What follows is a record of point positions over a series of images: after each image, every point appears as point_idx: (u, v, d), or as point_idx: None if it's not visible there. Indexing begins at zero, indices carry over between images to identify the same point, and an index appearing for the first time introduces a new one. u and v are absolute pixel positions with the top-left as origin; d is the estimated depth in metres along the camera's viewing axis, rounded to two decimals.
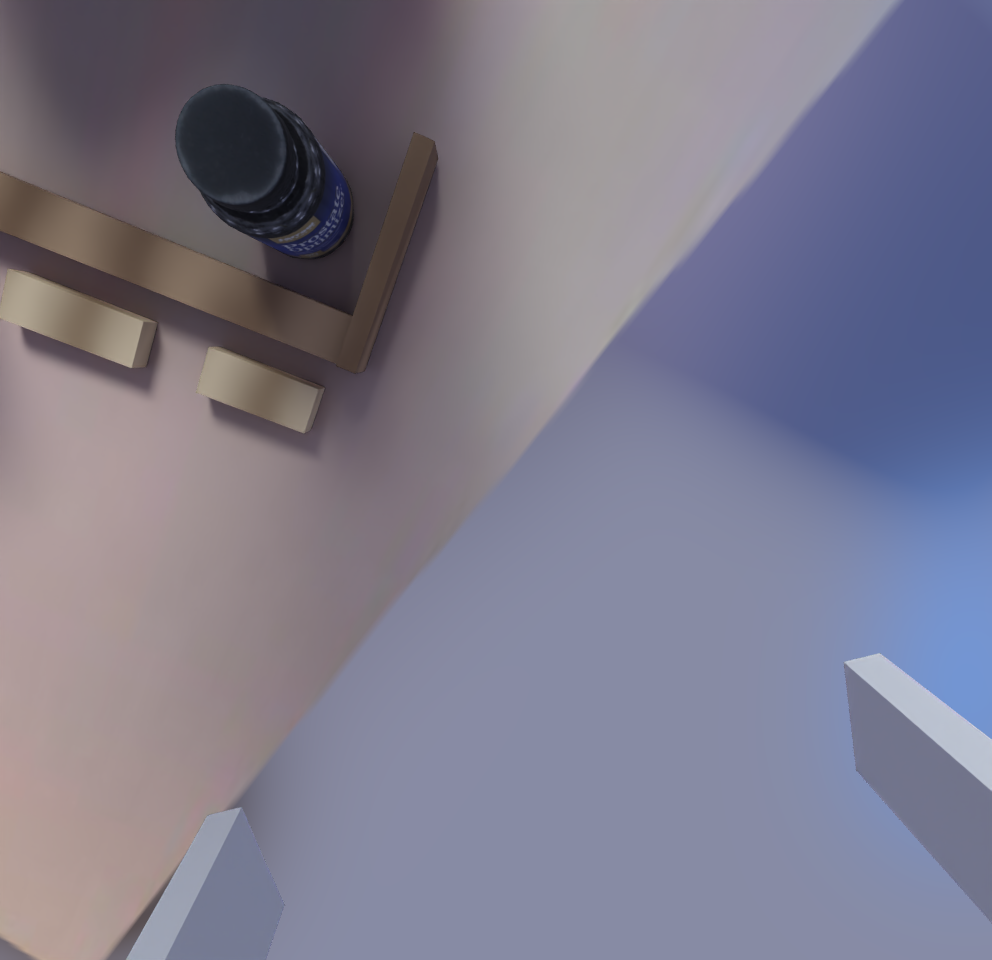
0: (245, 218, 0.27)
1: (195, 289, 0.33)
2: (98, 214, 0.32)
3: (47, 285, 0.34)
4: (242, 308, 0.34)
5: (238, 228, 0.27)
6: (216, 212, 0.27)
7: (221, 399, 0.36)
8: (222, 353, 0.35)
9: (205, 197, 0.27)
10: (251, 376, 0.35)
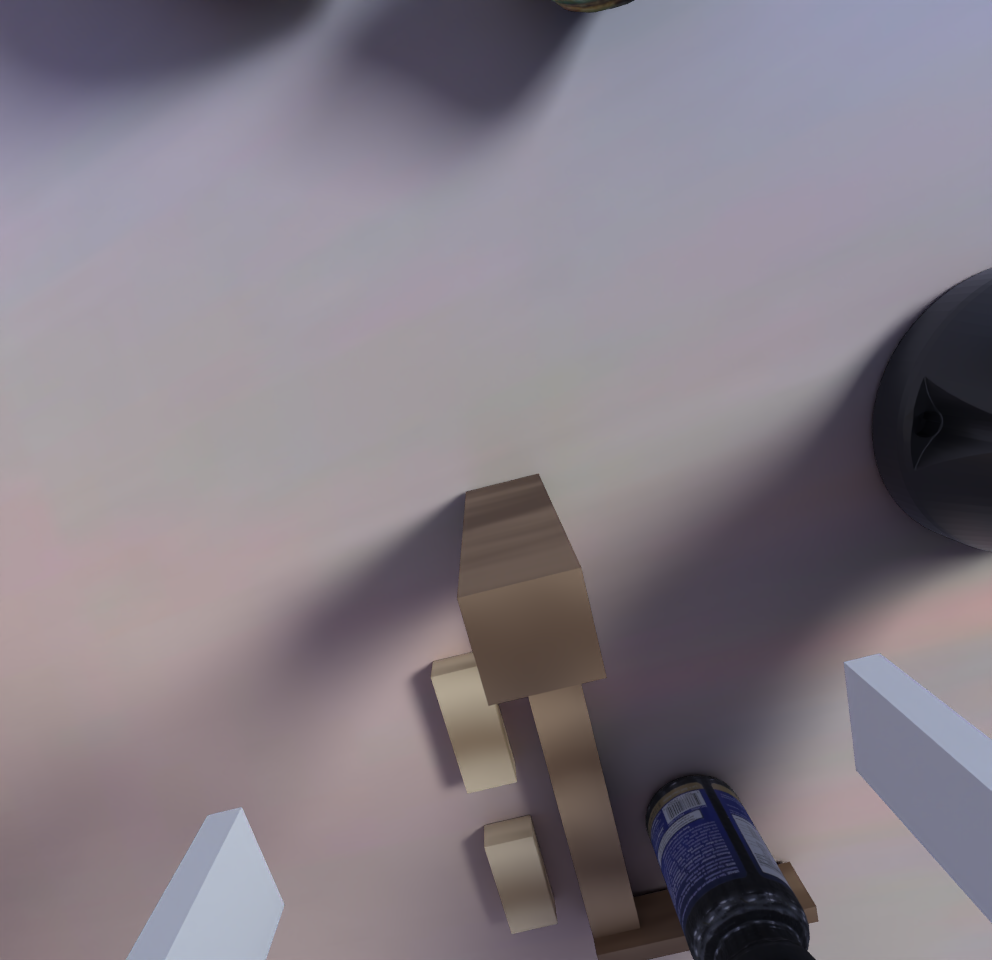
0: None
1: (578, 817, 0.33)
2: (589, 721, 0.32)
3: None
4: (588, 855, 0.34)
5: (693, 953, 0.28)
6: (696, 937, 0.28)
7: (493, 867, 0.35)
8: (534, 848, 0.34)
9: (703, 929, 0.28)
10: (531, 876, 0.35)
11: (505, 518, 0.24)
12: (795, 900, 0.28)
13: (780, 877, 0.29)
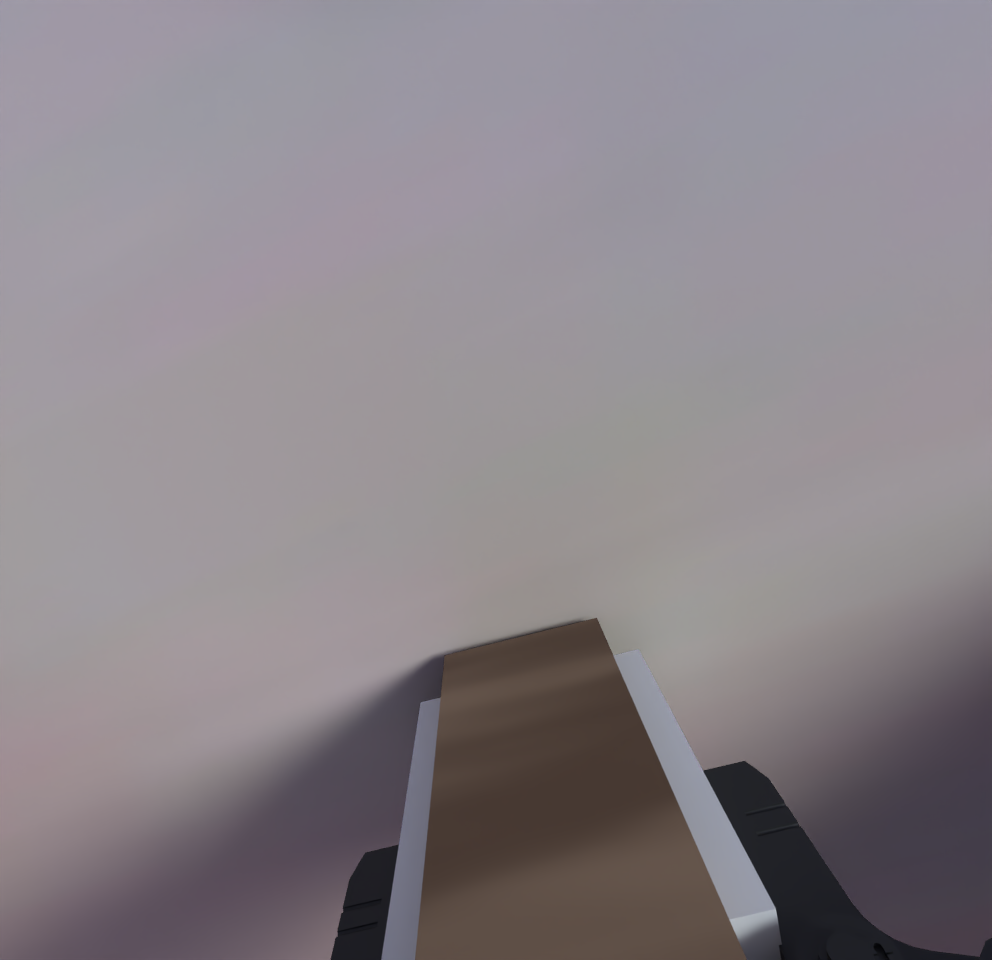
0: None
1: None
2: None
3: None
4: None
5: None
6: None
7: None
8: None
9: None
10: None
11: (545, 854, 0.08)
12: None
13: None
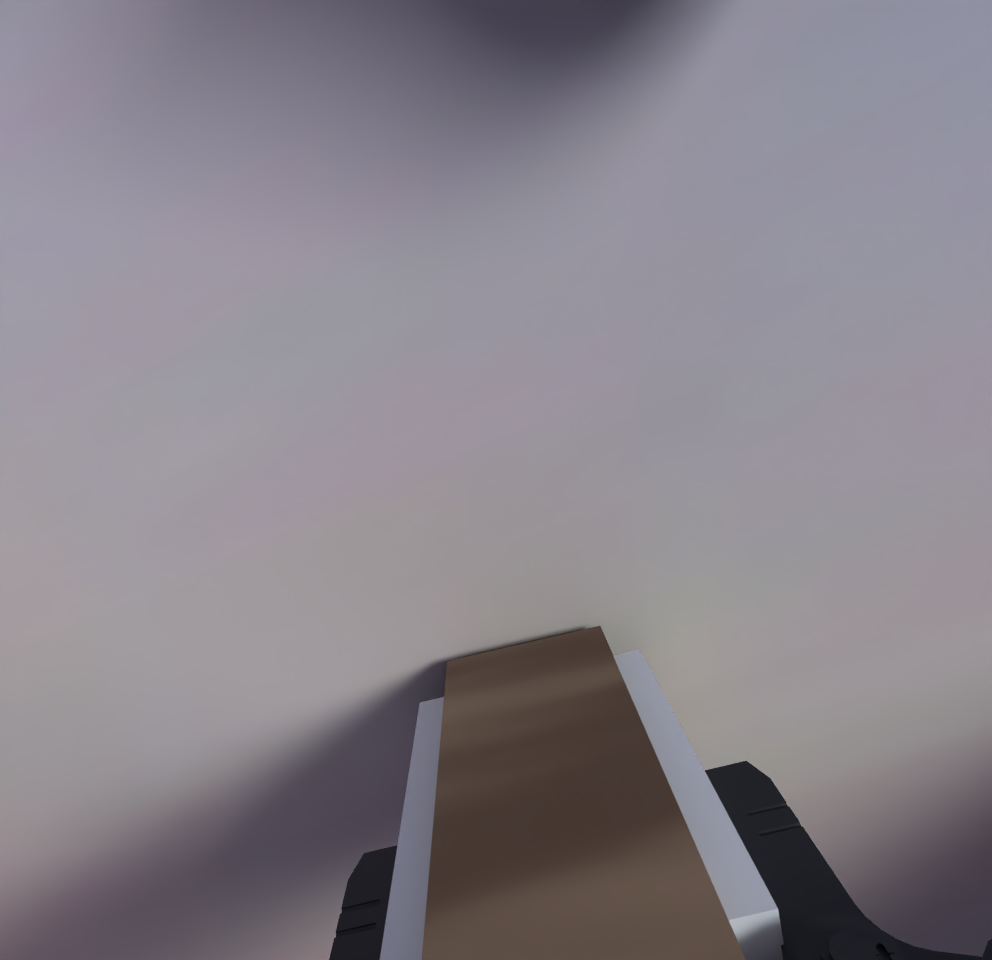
0: None
1: None
2: None
3: None
4: None
5: None
6: None
7: None
8: None
9: None
10: None
11: (551, 869, 0.08)
12: None
13: None
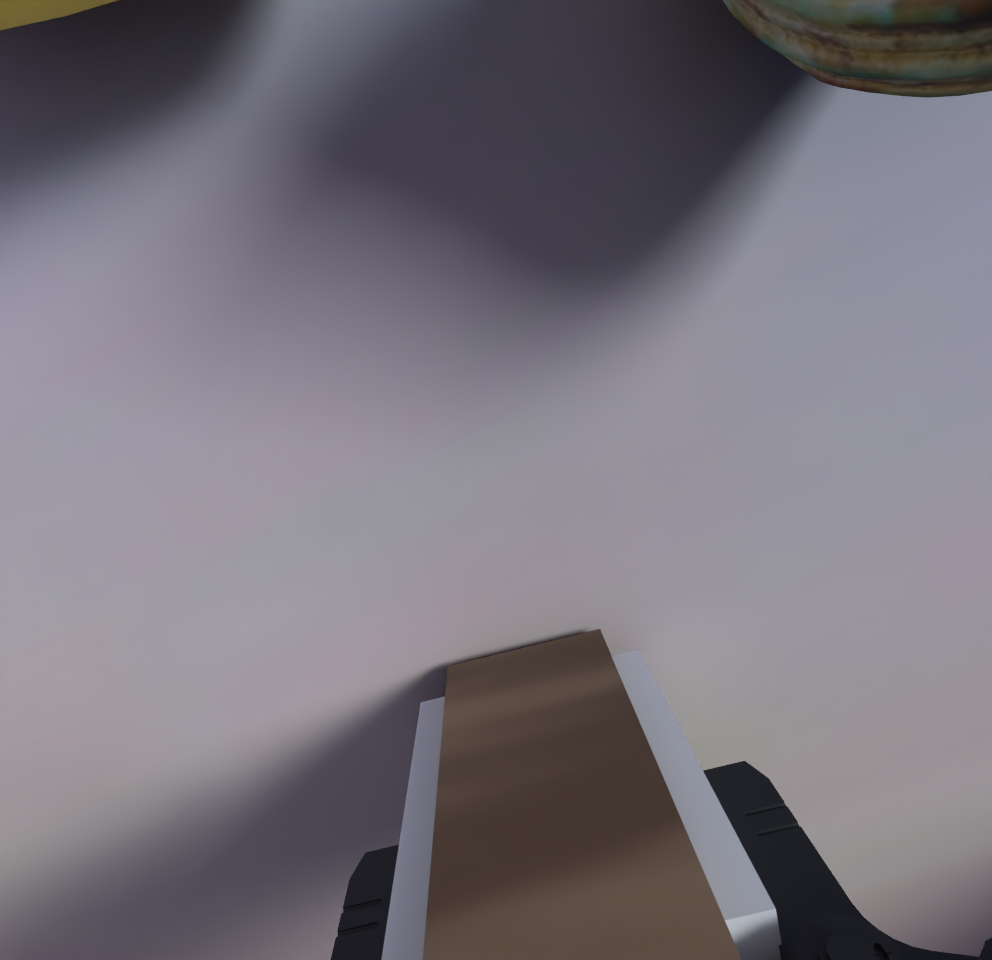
0: None
1: None
2: None
3: None
4: None
5: None
6: None
7: None
8: None
9: None
10: None
11: (550, 875, 0.08)
12: None
13: None
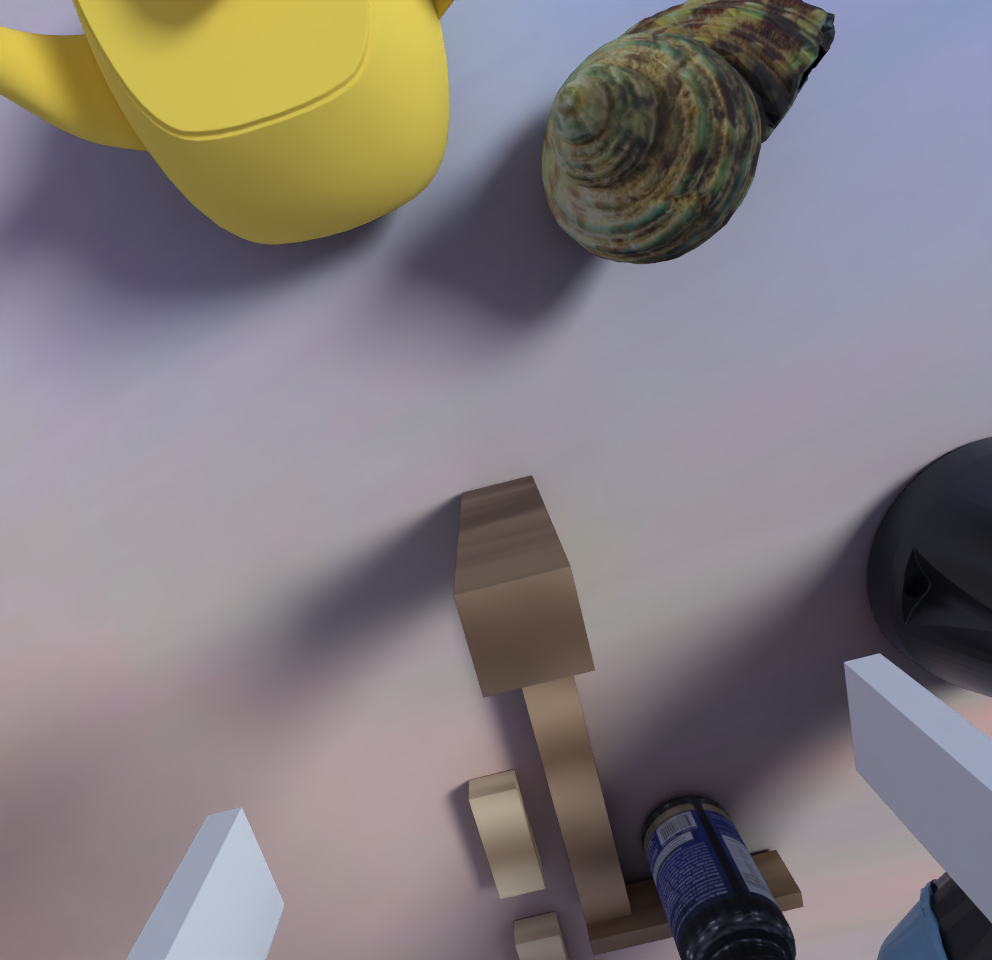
0: None
1: (571, 807, 0.34)
2: (581, 715, 0.33)
3: (523, 818, 0.35)
4: (581, 844, 0.35)
5: None
6: (688, 956, 0.30)
7: None
8: (560, 945, 0.38)
9: (695, 948, 0.29)
10: None
11: (499, 519, 0.25)
12: (780, 917, 0.30)
13: (766, 895, 0.31)
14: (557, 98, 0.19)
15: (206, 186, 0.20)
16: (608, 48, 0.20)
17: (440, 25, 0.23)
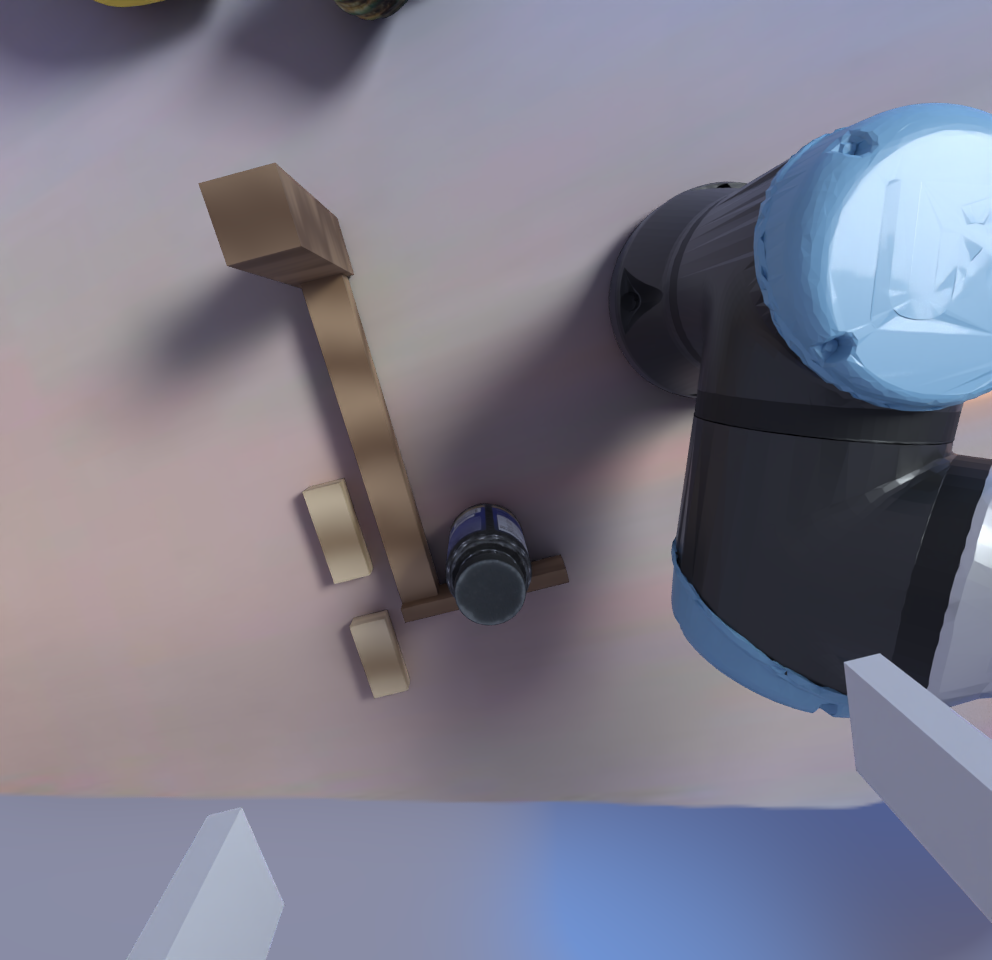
0: None
1: (381, 495, 0.44)
2: (382, 412, 0.42)
3: (347, 510, 0.45)
4: (391, 528, 0.45)
5: (448, 586, 0.40)
6: (447, 572, 0.39)
7: (357, 643, 0.48)
8: (386, 628, 0.47)
9: (450, 563, 0.39)
10: (385, 651, 0.48)
11: None
12: (518, 543, 0.39)
13: (513, 535, 0.40)
14: None
15: None
16: None
17: None
